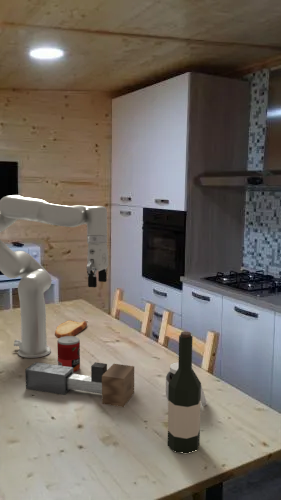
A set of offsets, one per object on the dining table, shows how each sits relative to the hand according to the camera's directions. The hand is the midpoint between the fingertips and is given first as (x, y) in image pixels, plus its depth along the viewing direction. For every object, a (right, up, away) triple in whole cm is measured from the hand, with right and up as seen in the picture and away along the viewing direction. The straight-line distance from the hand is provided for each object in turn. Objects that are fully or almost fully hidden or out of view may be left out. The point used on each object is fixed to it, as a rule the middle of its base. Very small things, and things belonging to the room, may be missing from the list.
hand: (97, 284), depth 178 cm
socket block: (+9, -33, -31) cm, 46 cm away
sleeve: (-13, -32, -24) cm, 42 cm away
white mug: (+31, -34, -34) cm, 57 cm away
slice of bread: (-15, -24, +34) cm, 44 cm away
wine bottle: (+27, -38, -56) cm, 73 cm away
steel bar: (-1, -31, -28) cm, 42 cm away
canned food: (-9, -30, -8) cm, 33 cm away
